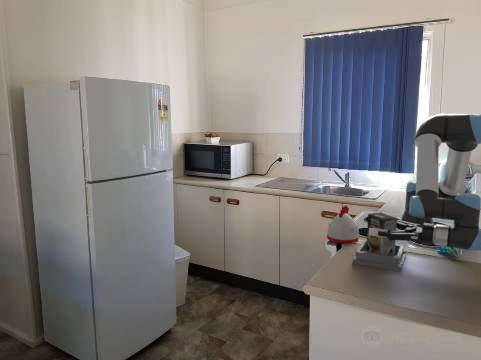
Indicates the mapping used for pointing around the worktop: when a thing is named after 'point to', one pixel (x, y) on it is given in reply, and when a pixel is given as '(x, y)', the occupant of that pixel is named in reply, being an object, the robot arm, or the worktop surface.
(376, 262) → the housing
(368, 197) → the worktop surface
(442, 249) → the gear
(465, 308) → the worktop surface
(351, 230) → the kitchen timer
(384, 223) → the coffee box
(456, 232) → the robot arm
